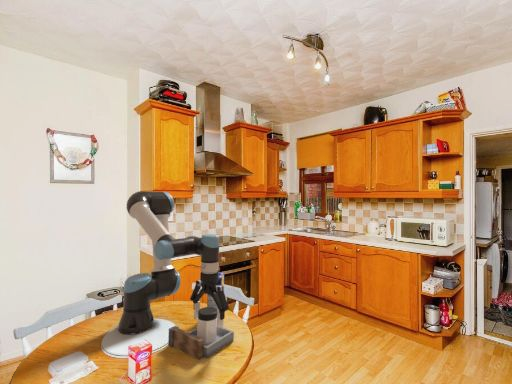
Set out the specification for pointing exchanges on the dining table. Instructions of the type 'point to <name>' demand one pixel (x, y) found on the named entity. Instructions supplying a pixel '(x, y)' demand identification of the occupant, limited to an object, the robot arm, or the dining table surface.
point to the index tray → (221, 341)
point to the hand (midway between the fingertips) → (208, 322)
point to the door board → (186, 342)
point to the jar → (207, 324)
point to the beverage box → (210, 299)
